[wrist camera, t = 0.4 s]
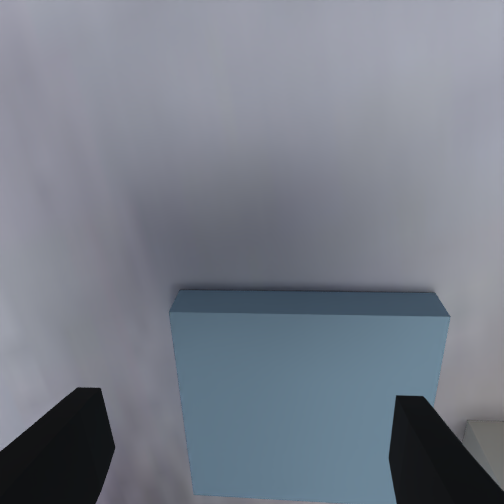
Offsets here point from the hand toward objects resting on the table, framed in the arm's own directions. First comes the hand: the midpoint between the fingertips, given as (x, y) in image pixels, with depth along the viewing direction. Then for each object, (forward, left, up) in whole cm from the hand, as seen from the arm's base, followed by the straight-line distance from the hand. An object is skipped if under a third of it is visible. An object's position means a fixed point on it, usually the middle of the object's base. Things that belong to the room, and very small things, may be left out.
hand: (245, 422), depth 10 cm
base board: (-8, -2, -10) cm, 13 cm away
